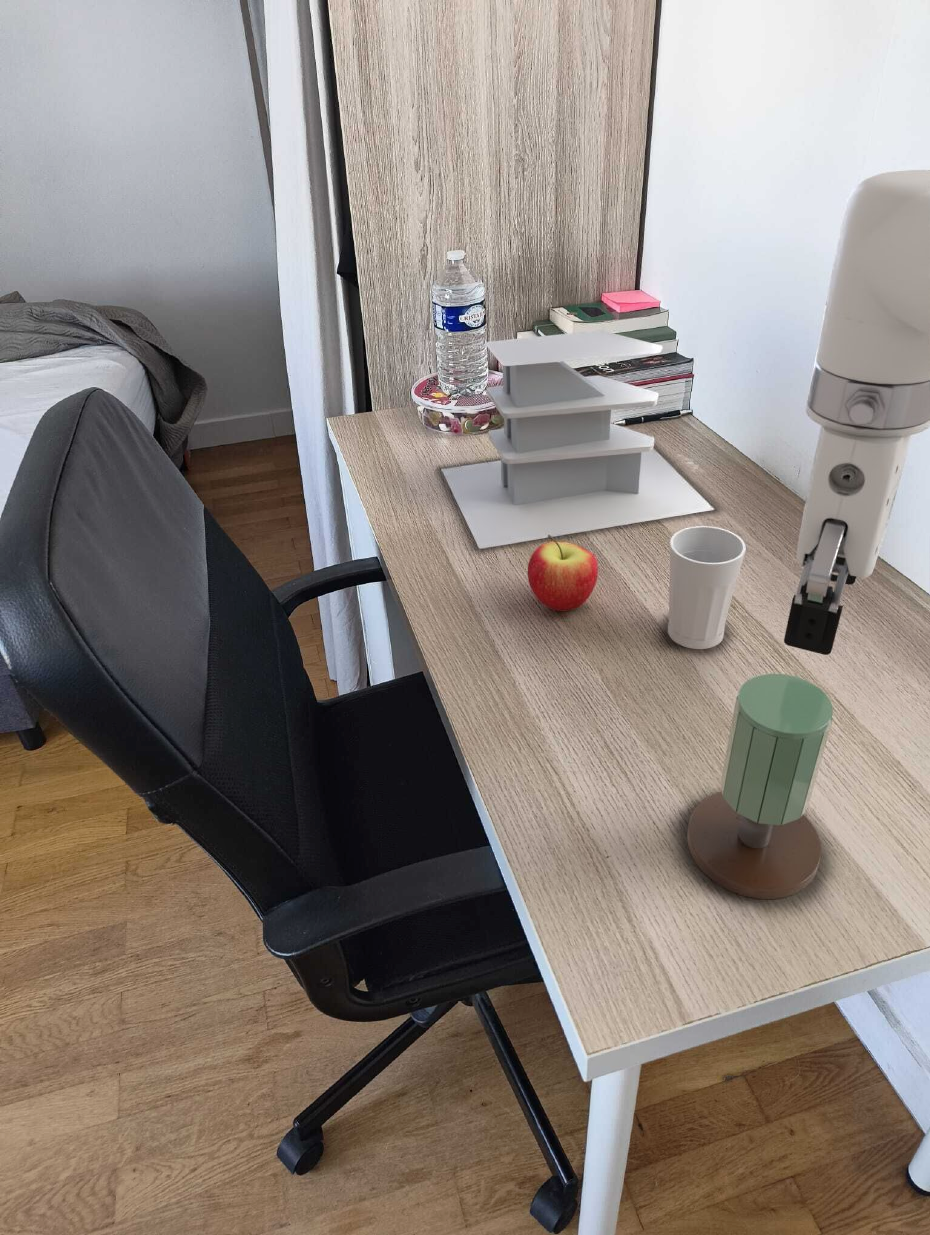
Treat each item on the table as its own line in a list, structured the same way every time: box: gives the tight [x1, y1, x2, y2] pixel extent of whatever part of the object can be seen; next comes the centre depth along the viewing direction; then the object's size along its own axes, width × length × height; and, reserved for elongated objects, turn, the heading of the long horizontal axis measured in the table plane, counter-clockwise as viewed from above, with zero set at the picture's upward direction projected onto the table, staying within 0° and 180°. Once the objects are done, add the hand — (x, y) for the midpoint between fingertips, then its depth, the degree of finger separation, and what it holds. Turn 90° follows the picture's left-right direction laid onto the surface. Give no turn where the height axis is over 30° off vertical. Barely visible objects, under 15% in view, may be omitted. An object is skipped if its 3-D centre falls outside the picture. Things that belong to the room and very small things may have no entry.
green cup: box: [720, 672, 834, 825], centre depth 67 cm, size 7×7×10 cm
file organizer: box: [441, 330, 715, 550], centre depth 122 cm, size 26×35×22 cm
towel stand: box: [686, 790, 822, 900], centre depth 69 cm, size 11×11×16 cm
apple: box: [527, 535, 599, 612], centre depth 101 cm, size 8×8×10 cm
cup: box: [667, 525, 747, 650], centre depth 95 cm, size 8×8×12 cm
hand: (820, 611), depth 63 cm, fingers open, 9 cm apart
